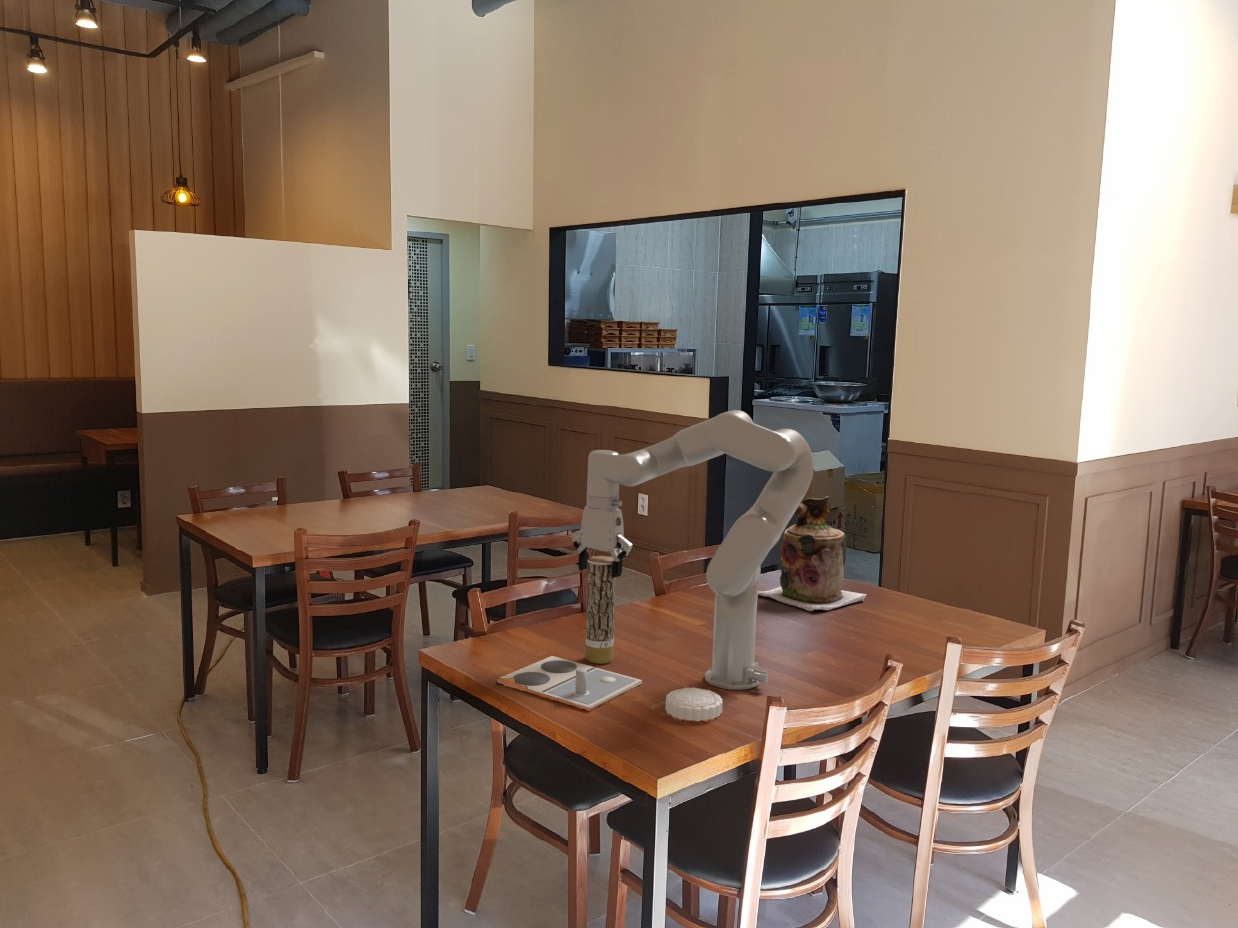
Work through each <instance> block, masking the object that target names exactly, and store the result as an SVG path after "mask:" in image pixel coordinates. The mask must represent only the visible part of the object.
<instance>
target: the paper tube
mask: <svg viewBox="0 0 1238 928" xmlns="http://www.w3.org/2000/svg"><path fill="white" fill-rule="evenodd" d="M613 561H614V558H613V557H612V556H607V555H595V556H594V555H593V556H589V558H588V561H587V569H586V603H585V604H586V605H585V607H586V609H585V610H586V611H585V613H586V614H585V615H586V616H585V654H584V655H585V660H586V661H587V662H588V663H591V664H595V663H596V664H597V665H600V664H601V665H603V664H604V665H605V664H608V663H609V664H610V662H612V661H613V660H614V649H615V648H614V647H615V646H614V645H615V643H614V642H615V614H616V613H615V609H616V608H615V607H616V602H615V601H616V578H612V562H613Z"/></svg>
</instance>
